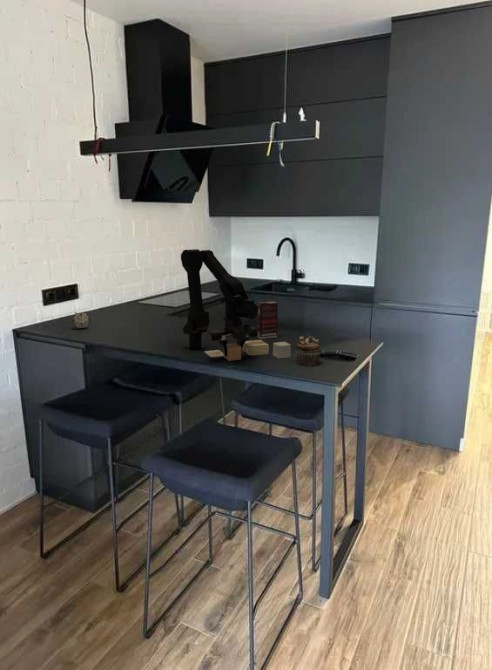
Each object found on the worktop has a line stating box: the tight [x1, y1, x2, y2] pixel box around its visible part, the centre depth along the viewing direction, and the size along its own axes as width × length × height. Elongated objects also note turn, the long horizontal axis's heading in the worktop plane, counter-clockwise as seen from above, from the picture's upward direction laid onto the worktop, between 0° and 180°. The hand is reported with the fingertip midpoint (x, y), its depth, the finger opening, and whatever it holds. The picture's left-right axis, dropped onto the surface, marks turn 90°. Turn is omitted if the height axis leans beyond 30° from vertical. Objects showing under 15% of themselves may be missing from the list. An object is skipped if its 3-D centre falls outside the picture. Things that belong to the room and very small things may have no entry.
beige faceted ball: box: [71, 311, 91, 330], centre depth 223 cm, size 9×8×10 cm
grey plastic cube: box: [272, 341, 292, 359], centre depth 183 cm, size 5×5×5 cm
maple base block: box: [242, 339, 270, 356], centre depth 189 cm, size 8×8×4 cm
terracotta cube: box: [223, 342, 242, 362], centre depth 179 cm, size 5×5×5 cm
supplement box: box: [255, 300, 279, 340], centre depth 211 cm, size 9×5×16 cm, turn 113°
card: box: [203, 349, 224, 358], centre depth 185 cm, size 8×6×1 cm
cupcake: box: [294, 334, 322, 367], centre depth 175 cm, size 10×10×10 cm
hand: (232, 355), depth 179 cm, fingers closed on terracotta cube, 5 cm apart
